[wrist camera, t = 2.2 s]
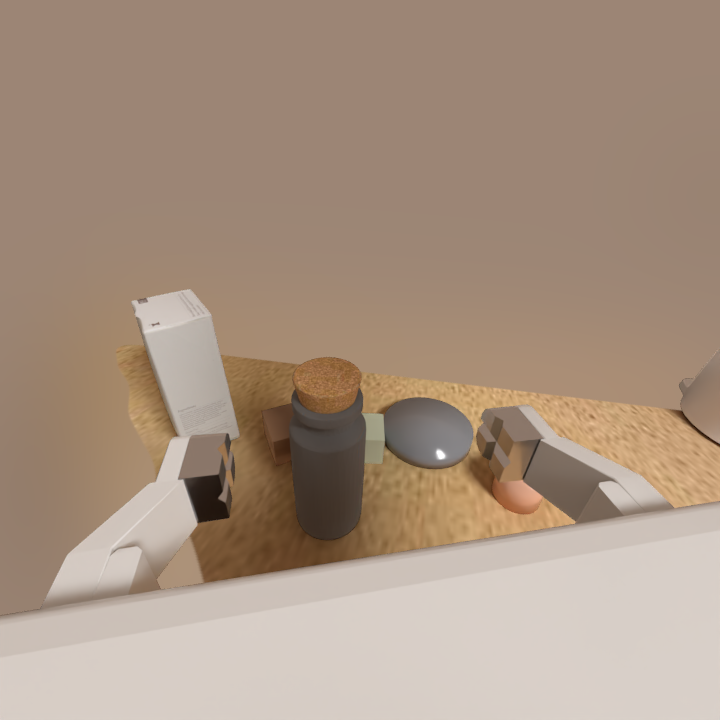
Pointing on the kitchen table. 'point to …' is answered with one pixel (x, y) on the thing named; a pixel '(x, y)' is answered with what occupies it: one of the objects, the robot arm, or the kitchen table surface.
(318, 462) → the bottle
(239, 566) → the kitchen table surface
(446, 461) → the grey dome disc
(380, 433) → the sage block
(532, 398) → the kitchen table surface
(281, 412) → the walnut block
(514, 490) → the peach rounded short part
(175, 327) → the skincare box
